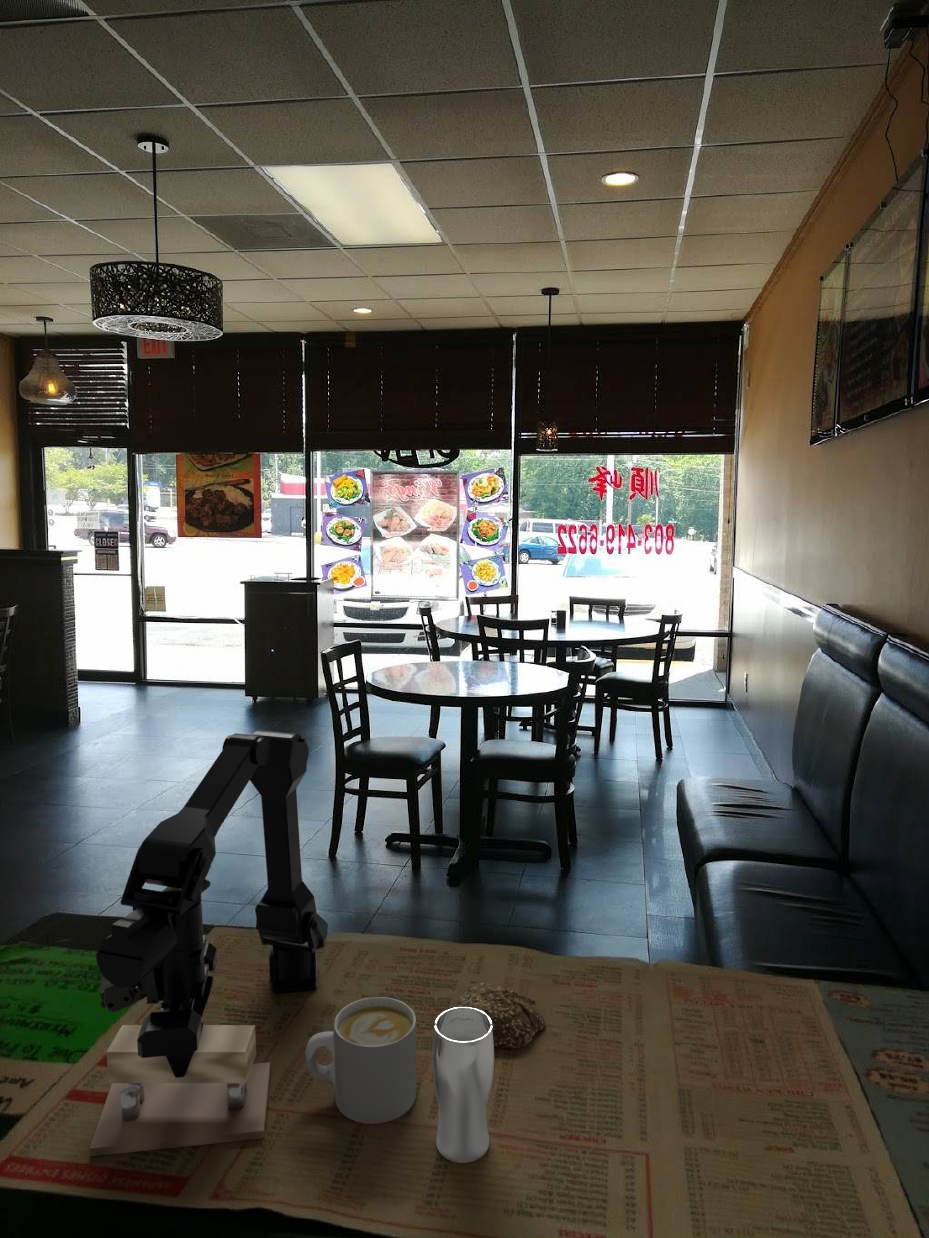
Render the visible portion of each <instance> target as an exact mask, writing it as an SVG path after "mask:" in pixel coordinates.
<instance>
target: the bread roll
mask: <svg viewBox="0 0 929 1238" xmlns="http://www.w3.org/2000/svg"><path fill="white" fill-rule="evenodd" d="M535 1005H536V1000H535V999H533V998H530V997H528V996H526V995H524V994H520V993H519V992H517V991H514V990H510V988H504V987H502V986H496V985H495V984H493V985H492V984H491V983H486V982H481V983H479V984H476V985H474V986H472V987H471V988H469V989H467V990H466V991H465V992H464V993H463V994H462V995H461V996H459V998H458V1000H457V1003H456V1004H455V1006H454V1008H456V1007H471V1008H475V1009H478V1010H481V1011H483V1012H484V1013H486V1014H487V1015H488V1016H489V1017H490V1018H491V1020H492V1023H493V1039H494V1047H498V1048H500V1047H503V1048H502V1049H513V1048H516V1049H520V1047H521V1048H524V1047H526V1046H527V1045H529V1044H530V1043H531V1042H532V1040H533V1039H534V1037H535V1035H536V1033H538V1032H540V1031H543V1030H544V1029H545V1027H546V1019H544V1016H543V1015H542V1014H541V1013H540V1012H539V1010H537V1009H536V1006H535ZM523 1046H524V1047H523Z"/></svg>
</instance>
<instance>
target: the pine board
mask: <svg viewBox="0 0 929 1238" xmlns="http://www.w3.org/2000/svg"><path fill="white" fill-rule="evenodd" d="M141 1026H142V1024H123V1025H121V1027H120V1028H119V1030H118V1032H117V1033H116V1035H115V1037H114V1038H113V1039H112V1042H111V1043H110V1045H109V1046H108V1048H107V1050H106V1052H105V1053H106V1054H105V1055H106V1066H107V1070H106V1071H107V1079H108V1080H107V1082H108V1084H112V1083H247V1080H248V1077H249V1074H250V1071H251V1069H252V1066H253V1064H255V1059H256V1057H257V1046H256V1045H257V1044H256V1025H255V1024H253V1025H251V1024H238V1025H237V1024H203V1029H202V1033H201V1038H200V1041H199V1045H198V1050H196V1051H195V1052H194V1054H193V1056H192V1059H191V1062H190V1064H189V1067H188V1069H187V1072H186V1075H185V1076H184V1077H180V1078H176V1077H175V1076H174V1074H173V1071H172V1069H171V1067H170V1064H169V1062H168V1060H167V1057H166V1056H159V1057H148V1058H142V1057H140V1056H139V1055H138V1046H137V1039H138V1035H139V1032H140V1029H141Z"/></svg>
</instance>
